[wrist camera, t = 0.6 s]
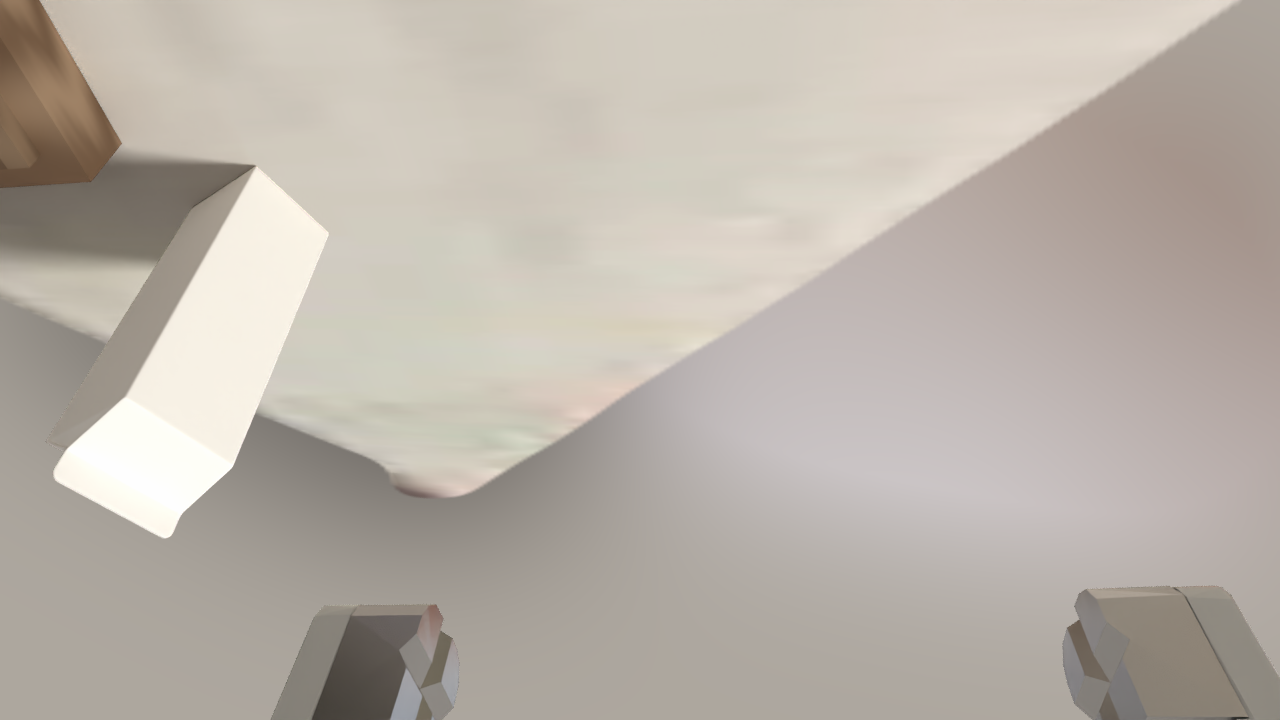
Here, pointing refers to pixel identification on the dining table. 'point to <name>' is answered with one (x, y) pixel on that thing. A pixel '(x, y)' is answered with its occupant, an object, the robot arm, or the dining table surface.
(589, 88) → the dining table surface
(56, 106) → the walnut pedestal
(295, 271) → the milk
